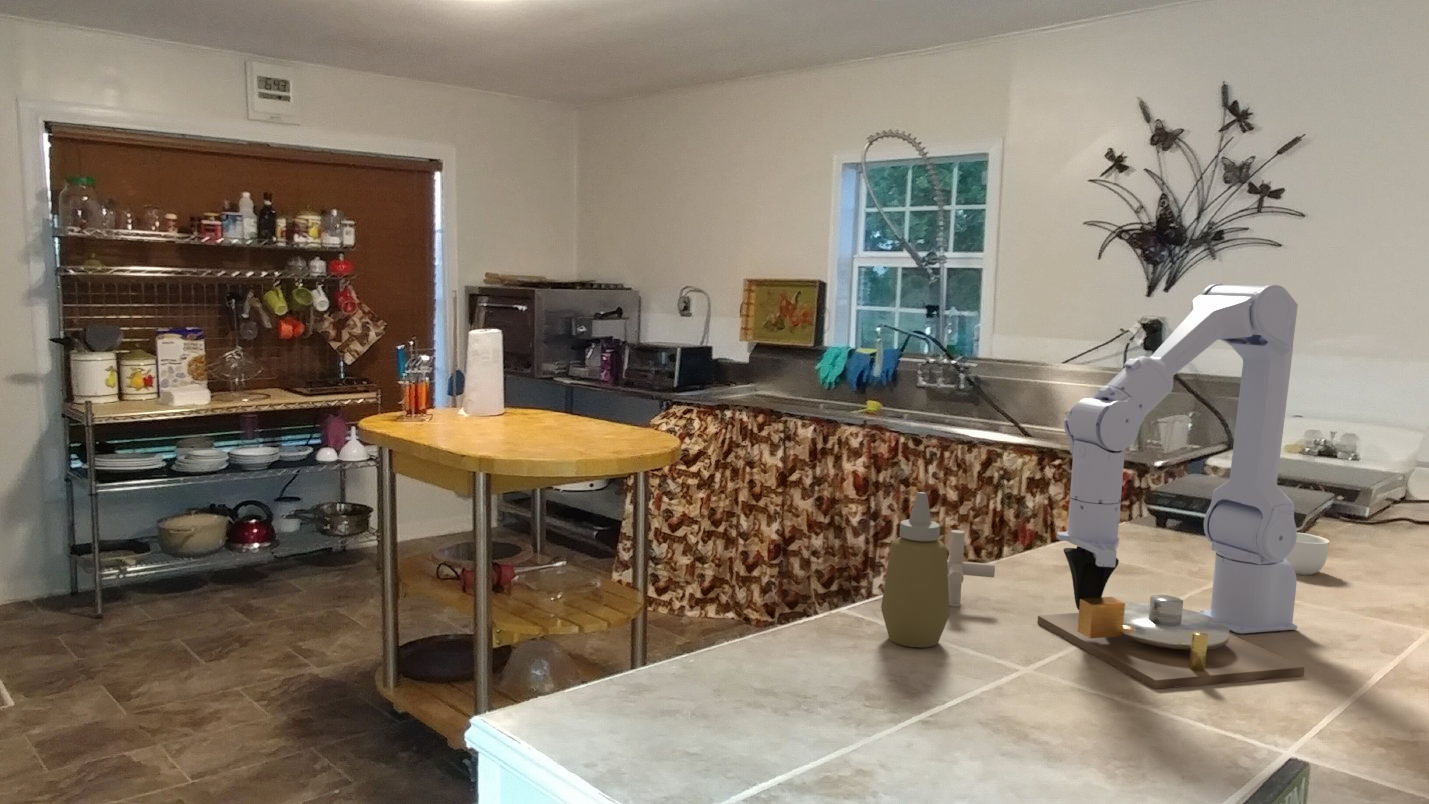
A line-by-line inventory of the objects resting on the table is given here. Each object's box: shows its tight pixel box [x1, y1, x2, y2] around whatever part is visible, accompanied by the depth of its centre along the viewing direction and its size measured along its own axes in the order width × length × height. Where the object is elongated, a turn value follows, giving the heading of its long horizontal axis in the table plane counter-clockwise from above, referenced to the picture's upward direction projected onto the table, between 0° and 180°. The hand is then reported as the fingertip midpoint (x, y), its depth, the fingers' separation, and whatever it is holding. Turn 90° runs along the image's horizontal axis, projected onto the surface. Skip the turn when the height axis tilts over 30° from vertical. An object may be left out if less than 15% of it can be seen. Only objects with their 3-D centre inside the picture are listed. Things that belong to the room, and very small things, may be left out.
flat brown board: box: [1037, 612, 1305, 690], centre depth 125 cm, size 20×22×2 cm
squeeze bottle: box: [880, 491, 950, 649], centre depth 124 cm, size 8×8×18 cm
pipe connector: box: [947, 529, 996, 608], centre depth 139 cm, size 10×10×10 cm
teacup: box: [1285, 532, 1330, 576], centre depth 164 cm, size 10×8×5 cm
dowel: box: [1189, 632, 1208, 672], centre depth 116 cm, size 2×2×4 cm
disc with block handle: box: [1078, 594, 1231, 650], centre depth 124 cm, size 18×14×4 cm
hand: (1086, 609), depth 126 cm, fingers closed
